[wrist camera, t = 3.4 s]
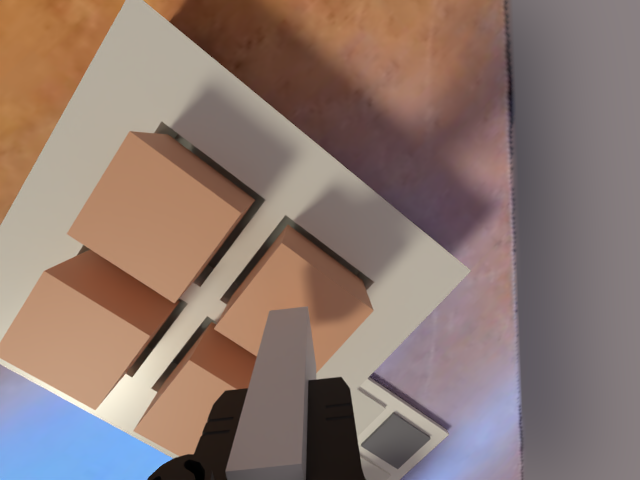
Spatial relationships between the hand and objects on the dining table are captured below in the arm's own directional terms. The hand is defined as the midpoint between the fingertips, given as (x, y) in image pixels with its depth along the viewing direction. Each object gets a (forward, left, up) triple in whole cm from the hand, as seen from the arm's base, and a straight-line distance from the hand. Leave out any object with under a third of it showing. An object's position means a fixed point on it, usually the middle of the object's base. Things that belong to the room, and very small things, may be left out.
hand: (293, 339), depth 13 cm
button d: (-7, -7, -5) cm, 11 cm away
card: (+11, -9, -8) cm, 16 cm away
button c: (-7, 0, -5) cm, 9 cm away
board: (-4, -4, -8) cm, 10 cm away
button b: (0, -7, -5) cm, 9 cm away
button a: (0, 0, -5) cm, 5 cm away
